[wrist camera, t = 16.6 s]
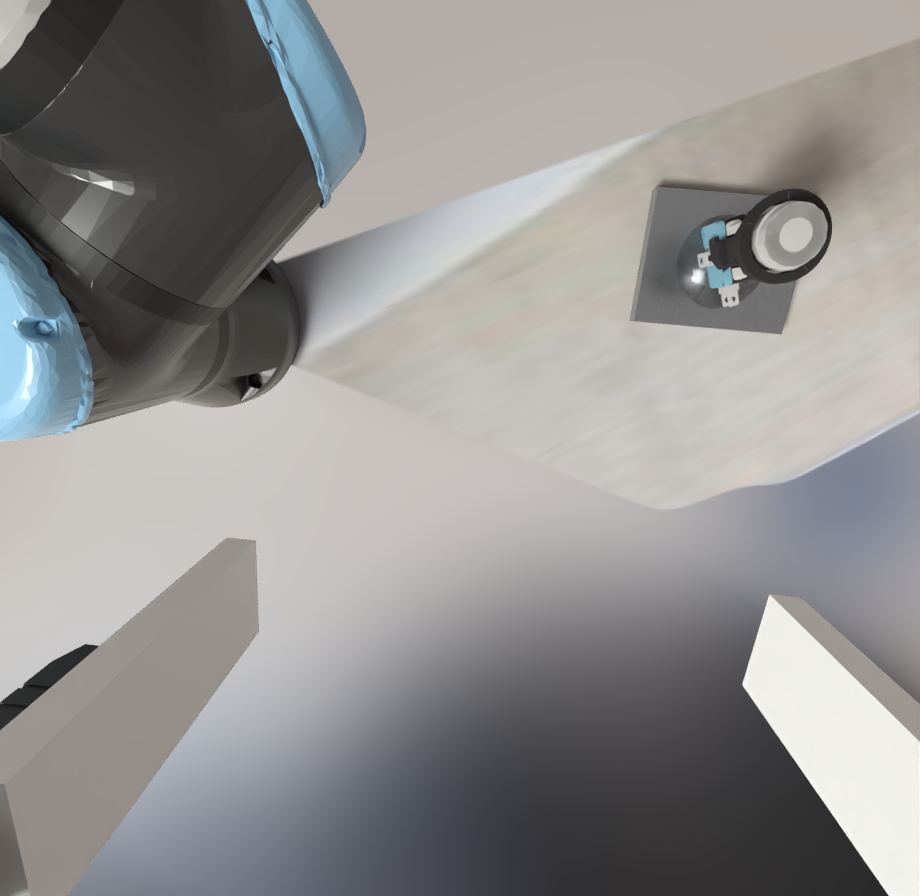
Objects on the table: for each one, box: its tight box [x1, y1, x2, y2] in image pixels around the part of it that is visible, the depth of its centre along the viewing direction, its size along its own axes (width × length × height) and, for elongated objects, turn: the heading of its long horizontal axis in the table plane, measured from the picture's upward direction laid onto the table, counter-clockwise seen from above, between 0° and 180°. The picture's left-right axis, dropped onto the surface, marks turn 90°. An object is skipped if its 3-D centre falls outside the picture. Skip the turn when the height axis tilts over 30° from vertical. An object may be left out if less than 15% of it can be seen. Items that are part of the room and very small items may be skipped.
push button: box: [697, 189, 832, 307], centre depth 33 cm, size 7×5×10 cm
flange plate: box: [630, 187, 796, 334], centre depth 38 cm, size 12×10×1 cm
